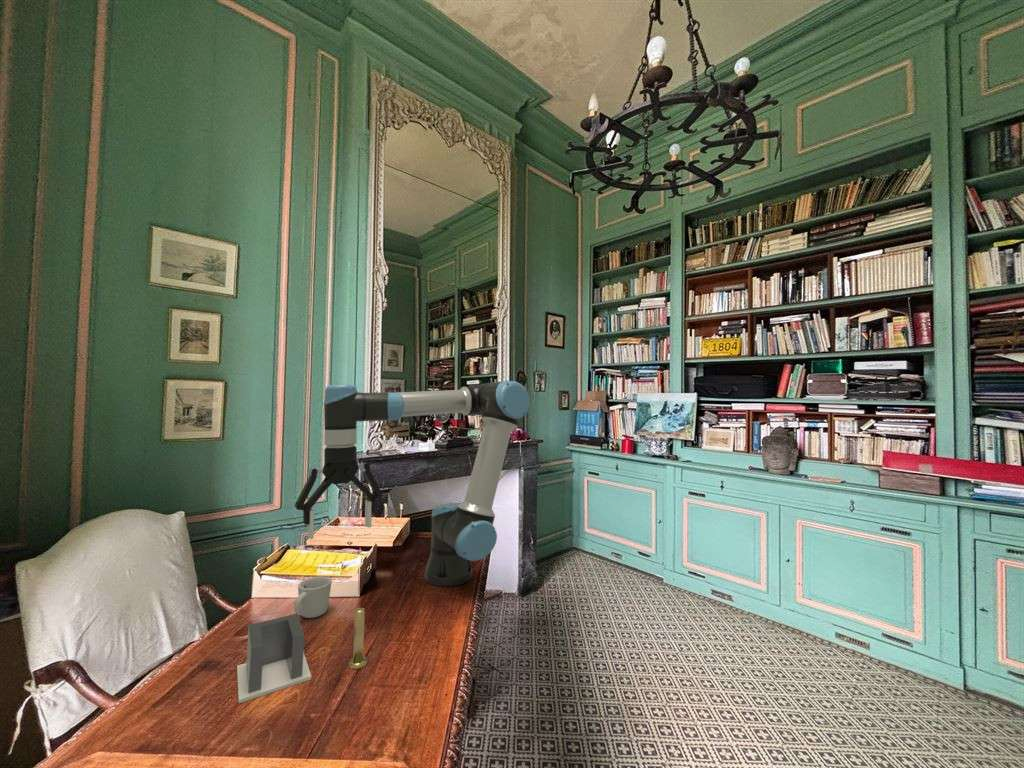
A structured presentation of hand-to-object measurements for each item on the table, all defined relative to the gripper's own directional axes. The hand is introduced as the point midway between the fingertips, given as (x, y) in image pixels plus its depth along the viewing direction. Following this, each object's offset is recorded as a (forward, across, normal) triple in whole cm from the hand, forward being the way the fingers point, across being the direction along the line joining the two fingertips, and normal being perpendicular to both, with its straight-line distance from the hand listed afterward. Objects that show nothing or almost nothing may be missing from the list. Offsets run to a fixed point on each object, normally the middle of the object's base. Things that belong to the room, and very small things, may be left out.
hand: (340, 531), depth 102 cm
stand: (+23, +1, +18) cm, 29 cm away
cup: (+23, +5, -10) cm, 26 cm away
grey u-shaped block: (+22, +16, +11) cm, 29 cm away
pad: (+22, +16, +11) cm, 30 cm away
